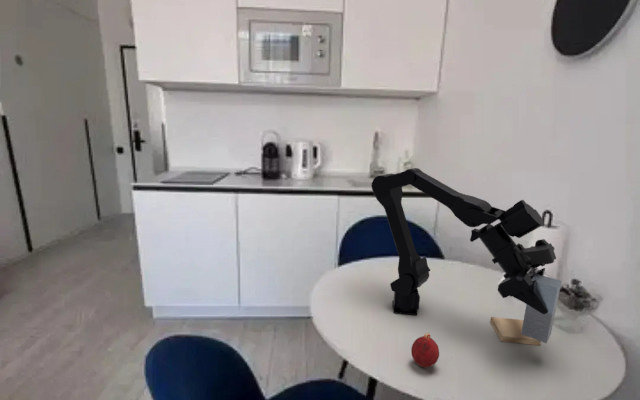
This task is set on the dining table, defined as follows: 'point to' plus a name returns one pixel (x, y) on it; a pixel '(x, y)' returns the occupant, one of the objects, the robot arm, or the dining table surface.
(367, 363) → the dining table surface
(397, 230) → the robot arm
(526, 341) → the cork pad
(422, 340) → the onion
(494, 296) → the dining table surface
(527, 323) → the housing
